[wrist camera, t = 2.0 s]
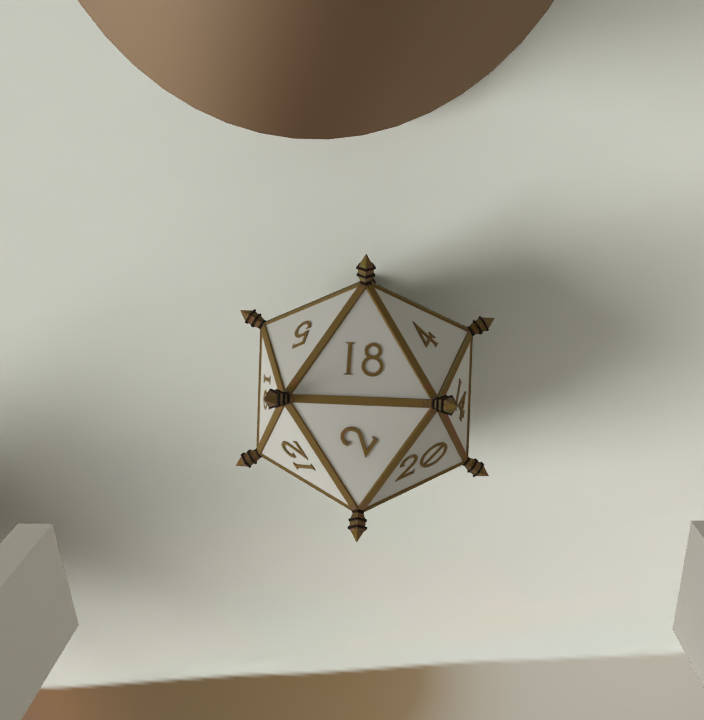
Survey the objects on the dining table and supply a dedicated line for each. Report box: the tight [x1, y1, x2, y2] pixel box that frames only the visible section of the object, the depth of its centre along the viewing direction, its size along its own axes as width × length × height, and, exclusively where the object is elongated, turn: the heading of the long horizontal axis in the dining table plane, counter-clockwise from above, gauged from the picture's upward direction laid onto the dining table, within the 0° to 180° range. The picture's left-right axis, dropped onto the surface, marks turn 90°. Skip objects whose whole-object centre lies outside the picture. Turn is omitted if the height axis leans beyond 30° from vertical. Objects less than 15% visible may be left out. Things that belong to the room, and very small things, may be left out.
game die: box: [236, 254, 494, 542], centre depth 22 cm, size 9×8×10 cm
